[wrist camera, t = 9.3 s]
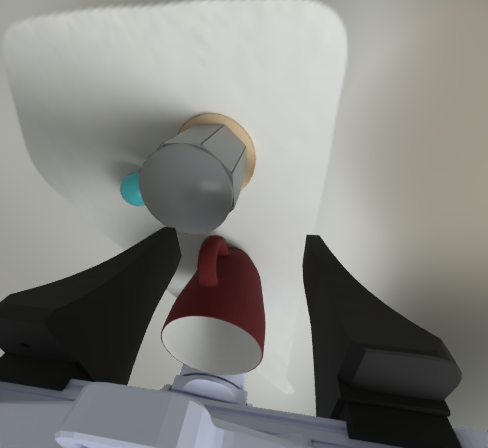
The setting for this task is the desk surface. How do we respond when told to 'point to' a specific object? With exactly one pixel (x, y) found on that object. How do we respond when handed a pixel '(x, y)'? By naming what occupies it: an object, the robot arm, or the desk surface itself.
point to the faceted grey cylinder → (195, 178)
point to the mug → (218, 313)
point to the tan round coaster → (236, 129)
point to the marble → (131, 190)
